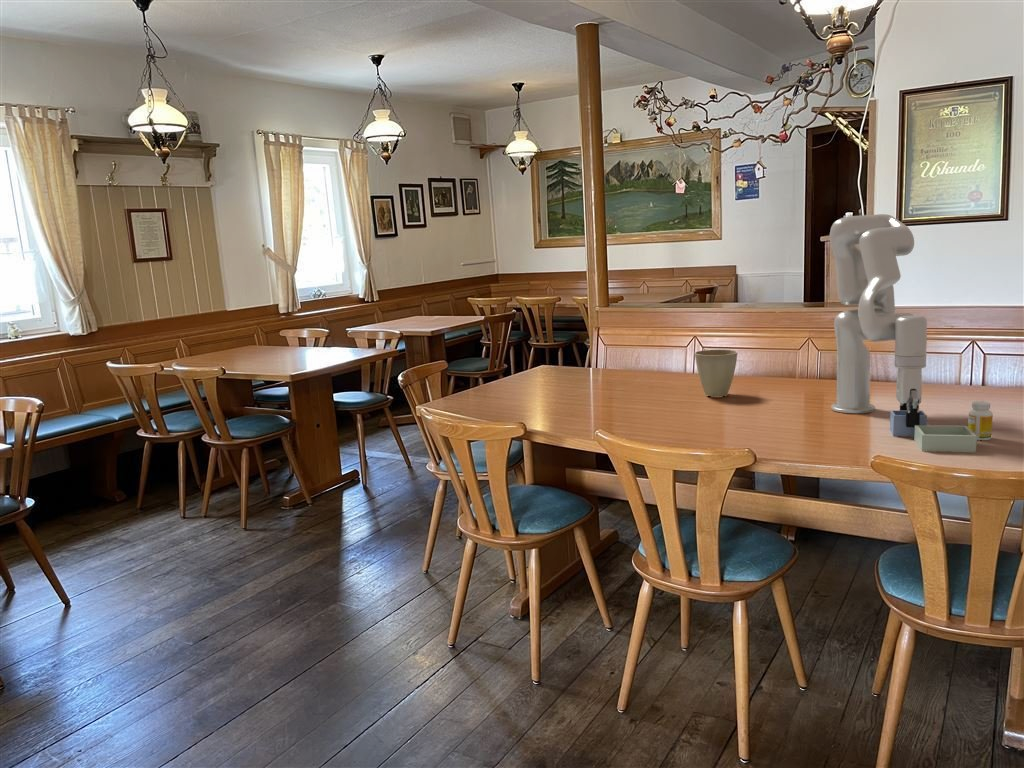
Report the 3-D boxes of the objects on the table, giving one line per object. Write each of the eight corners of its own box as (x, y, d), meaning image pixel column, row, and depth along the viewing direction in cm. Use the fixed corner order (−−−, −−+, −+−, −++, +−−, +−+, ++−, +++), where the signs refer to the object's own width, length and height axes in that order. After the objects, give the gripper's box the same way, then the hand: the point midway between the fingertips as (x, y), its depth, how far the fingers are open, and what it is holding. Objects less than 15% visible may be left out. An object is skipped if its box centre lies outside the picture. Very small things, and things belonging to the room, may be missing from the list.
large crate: (914, 441, 197) (914, 425, 197) (965, 442, 194) (966, 425, 193) (921, 452, 188) (922, 435, 187) (975, 453, 184) (976, 436, 183)
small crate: (889, 431, 208) (890, 410, 207) (921, 431, 206) (922, 410, 204) (893, 436, 202) (893, 415, 201) (926, 437, 200) (926, 415, 199)
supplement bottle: (965, 439, 195) (966, 403, 194) (969, 434, 199) (971, 399, 197) (988, 441, 192) (990, 405, 190) (993, 437, 195) (995, 401, 194)
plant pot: (743, 398, 260) (742, 353, 258) (700, 401, 261) (699, 356, 258) (731, 390, 275) (731, 347, 272) (691, 392, 276) (690, 350, 273)
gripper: (889, 357, 209) (889, 416, 212) (900, 366, 193) (899, 430, 196) (919, 356, 207) (918, 416, 210) (932, 365, 191) (931, 430, 193)
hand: (909, 423), depth 203 cm, fingers open, 9 cm apart
